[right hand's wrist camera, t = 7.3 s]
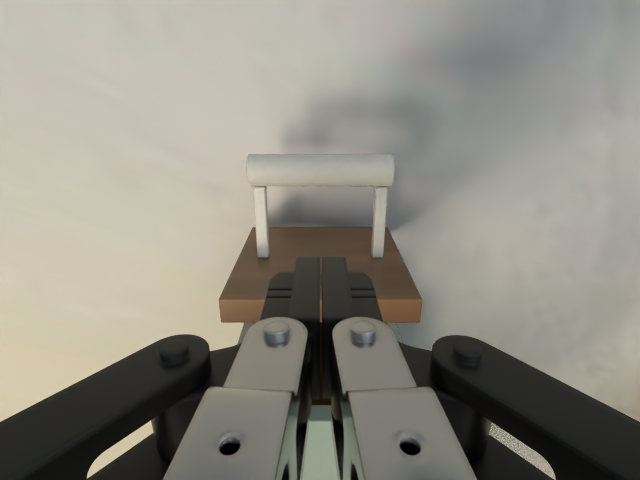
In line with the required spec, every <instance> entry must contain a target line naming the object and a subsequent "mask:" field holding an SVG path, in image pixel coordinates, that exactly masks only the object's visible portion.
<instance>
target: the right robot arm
mask: <svg viewBox="0 0 640 480" xmlns="http://www.w3.org/2000/svg"><path fill="white" fill-rule="evenodd" d="M322 383H323V400H331V431H332V439H333V447H334V455H335V463H336V471H337V479H338V480H554V479H552V478H551V477H549V476H548V475H546V474H545V473H543V472H542V471H541V470H539V469H538V468H536V467H535V466H533V465H532V464H531V463H529V462H528V461H526V460H525V459H523V458H522V457H521V456H519V455H518V454H516V453H515V452H513V451H512V450H510V449H509V448H508V447H506V446H505V445H503V444H502V443H500V442H499V441H498V440H496V439H495V438H493V437H492V436H490V435H489V432H490V427H491V422H493V423H494V424H496V425H497V426H499V427H500V428H502V429H503V430H505V431H506V432H508V433H509V434H511V435H512V436H514V437H515V438H517V439H518V440H520V441H521V442H523V443H524V444H526V445H527V446H529V447H530V448H532V449H533V450H535V451H536V452H538V453H539V454H540V455H541V456H543V457H544V458H545V459H546V460H547V462H548V463H549V464H550V466H551V467H552V469H553V471H554V473H555V477H556V480H640V422H639V421H637V420H635V419H633V418H631V417H629V416H627V415H625V414H623V413H621V412H619V411H617V410H615V409H613V408H611V407H609V406H607V405H606V404H604V403H602V402H600V401H598V400H596V399H594V398H592V397H590V396H588V395H586V394H584V393H582V392H580V391H578V390H576V389H574V388H572V387H571V386H569V385H567V384H565V383H563V382H561V381H559V380H557V379H555V378H553V377H551V376H549V375H547V374H545V373H543V372H541V371H539V370H538V369H536V368H534V367H532V366H530V365H528V364H526V363H524V362H522V361H520V360H518V359H516V358H514V357H512V356H510V355H508V354H506V353H505V352H503V351H501V350H499V349H497V348H495V347H493V346H491V345H489V344H487V343H485V342H483V341H481V340H478V339H475V338H472V337H468V336H460V335H451V336H446V337H442V338H440V339H438V340H437V341H436V342H435V343H434V345H433V347H432V351H429V350H424V349H419V348H415V347H411V346H408V345H405V344H403V343H401V342H399V341H397V339H396V337H395V335H394V332H393V331H392V329H391V328H390V327H389V326H388V325H387V324H385V323H383V319H382V315H381V312H380V308H379V304H378V301H377V298H376V293H375V290H374V286H373V282H372V279H371V278H369V277H368V276H367V275H366V274H365V273H364V272H348V270H347V263H346V257H345V256H322ZM312 400H320V256H297V257H296V264H295V272H278V273H277V274H276V275H275V276H274V277H273V278H272V279H271V280H270V283H269V287H268V291H267V295H266V298H265V302H264V306H263V310H262V314H261V318H260V321H258V322H257V323H255V324H253V325H252V326H251V327H250V328H249V329H248V331H247V332H246V335H245V337H244V339H243V342H242V343H240V344H238V345H235V346H232V347H229V348H224V349H219V350H215V351H210V350H209V345H208V343H207V342H206V340H204V339H203V338H201V337H199V336H195V335H185V334H184V335H175V336H170V337H167V338H164V339H161V340H159V341H157V342H155V343H153V344H151V345H149V346H147V347H145V348H143V349H141V350H139V351H137V352H135V353H134V354H132V355H130V356H128V357H126V358H124V359H122V360H120V361H118V362H116V363H114V364H112V365H110V366H108V367H106V368H104V369H102V370H101V371H99V372H97V373H95V374H93V375H91V376H89V377H87V378H85V379H83V380H81V381H79V382H77V383H75V384H73V385H71V386H69V387H68V388H66V389H64V390H62V391H60V392H58V393H56V394H54V395H52V396H50V397H48V398H46V399H44V400H42V401H40V402H38V403H36V404H34V405H33V406H31V407H29V408H27V409H25V410H23V411H21V412H19V413H17V414H15V415H13V416H11V417H9V418H7V419H5V420H3V421H1V422H0V480H302V479H303V471H304V463H305V455H306V447H307V439H308V431H309V417H310V414H311V407H312ZM150 420H151V422H152V427H153V432H154V433H152V434H151V435H150V436H148V437H147V438H145V439H144V440H142V441H141V442H140V443H138V444H137V445H135V446H134V447H132V448H131V449H130V450H128V451H127V452H125V453H124V454H122V455H121V456H119V457H118V458H117V459H115V460H114V461H112V462H111V463H109V464H108V465H107V466H105V467H104V468H102V469H101V470H99V471H98V472H97V473H95V474H94V475H92V476H91V477H89V478H88V479H87V473H88V470H89V468H90V466H91V465H92V463H93V462H94V460H95V459H96V458H97V457H98V456H99V455H100V454H101V453H103V452H104V451H105V450H107V449H108V448H110V447H111V446H113V445H114V444H116V443H117V442H119V441H120V440H122V439H123V438H125V437H126V436H128V435H129V434H131V433H132V432H134V431H135V430H137V429H138V428H140V427H141V426H143V425H144V424H146V423H147V422H149V421H150Z"/></svg>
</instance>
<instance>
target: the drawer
mask: <svg viewBox="0 0 640 480" xmlns="http://www.w3.org/2000/svg"><path fill="white" fill-rule="evenodd" d="M246 174H247V181H248V184H249V186H254V187H253V193H254V209H255V224H256V227H253V228H252V230H251V232H250V235H249V237H248V239H247V241H246V243H245V245H244V247H243V249H242V251H241V254H240V256H239V258H238V260H237V262H236V264H235V266H234V268H233V271H232V273H231V275H230V277H229V279H228V281H227V283H226V285H225V287H224V290H223V292H222V294H221V296H220V298H219V307H220V316H221V322H253V324H255V323H257V322H258V321H260V318H261V314H262V310H263V306H264V302H265V298H266V295H267V291H268V287H269V283H270V280H271V279H272V278H273V277H274V276H275V275H276V274H277V273H278V272H295V264H296V257H297V256H320V400H312V405H331V400H323V383H322V256H345V257H346V263H347V270H348V272H364V273H365V274H366V275H367V276H368V277H369V278H371V279H372V282H373V286H374V290H375V293H376V298H377V301H378V304H379V308H380V312H381V315H382V319H383V323H385V324H387V325H388V323H387V322H420V316H421V307H422V298H421V296H420V294H419V292H418V290H417V288H416V286H415V284H414V282H413V279H412V277H411V275H410V273H409V271H408V269H407V267H406V265H405V263H404V261H403V259H402V257H401V255H400V252H399V250H398V248H397V246H396V244H395V242H394V240H393V238H392V236H391V234H390V232H389V230H388V228H387V227H385V221H386V206H387V191H388V188H387V186H392V184H393V181H394V174H395V162H394V157H393V155H391V154H249V155H248V157H247V162H246ZM266 186H375V189H374V207H373V226H372V227H268V211H267V191H266Z"/></svg>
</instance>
